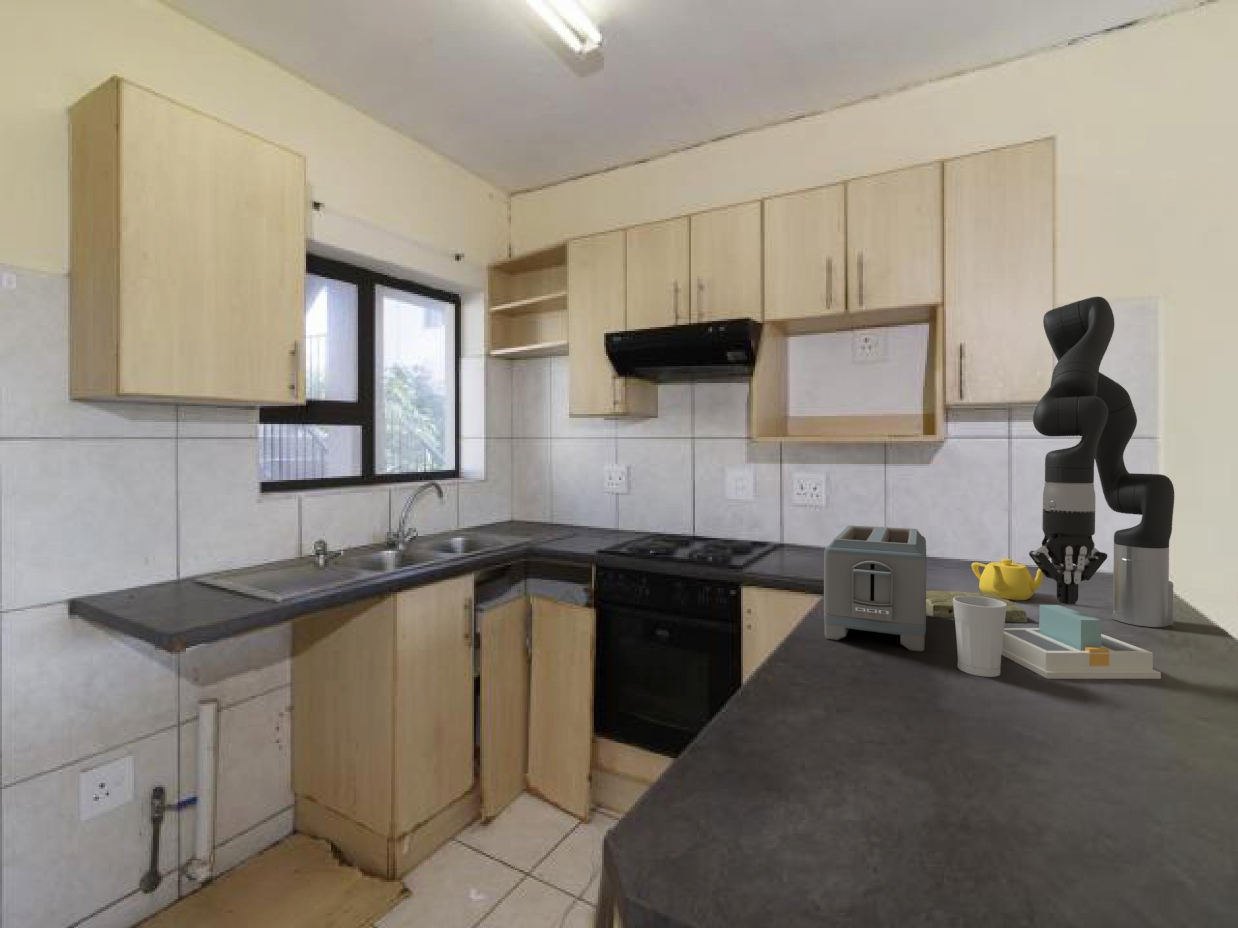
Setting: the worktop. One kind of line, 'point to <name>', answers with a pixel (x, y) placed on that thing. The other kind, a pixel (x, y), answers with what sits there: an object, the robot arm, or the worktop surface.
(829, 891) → the worktop surface
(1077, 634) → the panel
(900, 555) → the toaster
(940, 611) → the decorative tile
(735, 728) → the worktop surface
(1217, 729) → the worktop surface
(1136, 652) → the tray
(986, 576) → the teapot
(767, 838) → the worktop surface
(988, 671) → the cup
